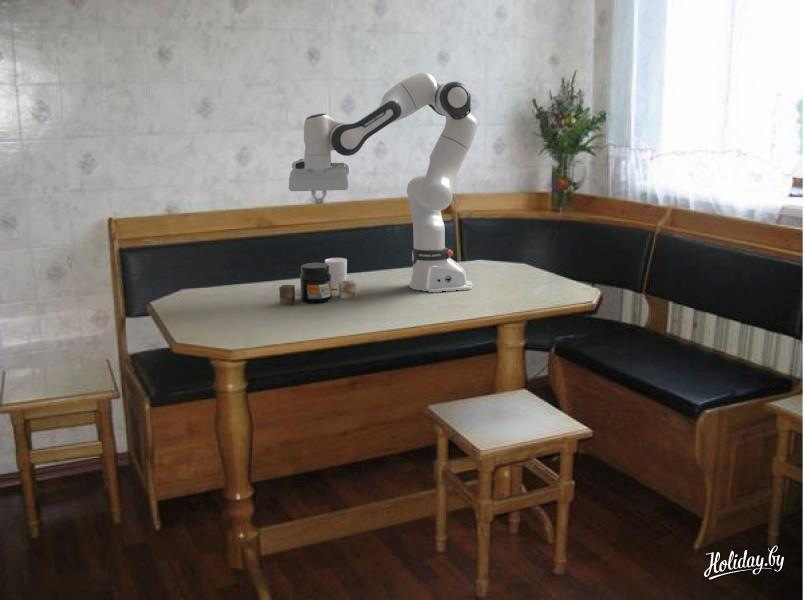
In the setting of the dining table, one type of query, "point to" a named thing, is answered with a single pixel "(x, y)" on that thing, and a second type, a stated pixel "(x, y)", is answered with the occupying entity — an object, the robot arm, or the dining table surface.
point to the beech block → (347, 289)
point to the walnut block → (287, 294)
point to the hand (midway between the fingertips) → (319, 203)
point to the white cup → (337, 270)
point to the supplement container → (315, 283)
